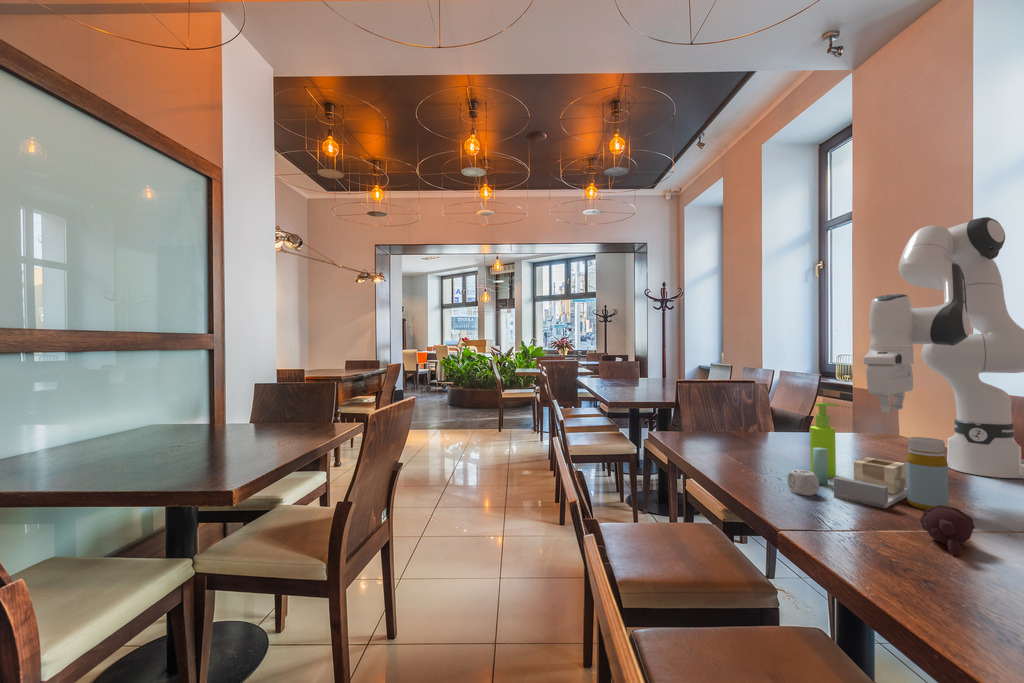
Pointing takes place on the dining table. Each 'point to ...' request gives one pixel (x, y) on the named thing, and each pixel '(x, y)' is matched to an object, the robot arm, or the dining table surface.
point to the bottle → (926, 473)
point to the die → (803, 482)
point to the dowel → (820, 465)
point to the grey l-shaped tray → (866, 493)
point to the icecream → (948, 526)
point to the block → (881, 473)
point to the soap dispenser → (824, 437)
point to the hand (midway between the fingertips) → (892, 410)
